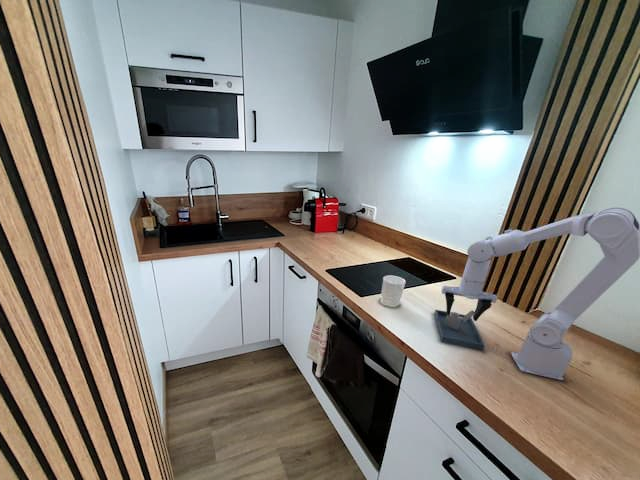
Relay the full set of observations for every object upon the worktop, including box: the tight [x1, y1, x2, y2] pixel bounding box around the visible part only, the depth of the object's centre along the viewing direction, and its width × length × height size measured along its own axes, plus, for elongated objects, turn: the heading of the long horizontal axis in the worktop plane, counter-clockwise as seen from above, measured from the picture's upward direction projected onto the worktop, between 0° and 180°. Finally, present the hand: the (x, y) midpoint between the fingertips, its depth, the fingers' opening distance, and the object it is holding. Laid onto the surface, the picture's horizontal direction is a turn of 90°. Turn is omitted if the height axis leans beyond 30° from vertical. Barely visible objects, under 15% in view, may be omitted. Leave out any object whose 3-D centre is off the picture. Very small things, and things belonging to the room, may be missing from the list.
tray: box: [433, 309, 485, 351], centre depth 94 cm, size 11×17×2 cm, turn 160°
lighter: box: [444, 309, 475, 330], centre depth 93 cm, size 7×2×8 cm, turn 43°
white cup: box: [380, 274, 406, 308], centre depth 108 cm, size 8×8×10 cm
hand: (460, 316), depth 92 cm, fingers open, 7 cm apart
